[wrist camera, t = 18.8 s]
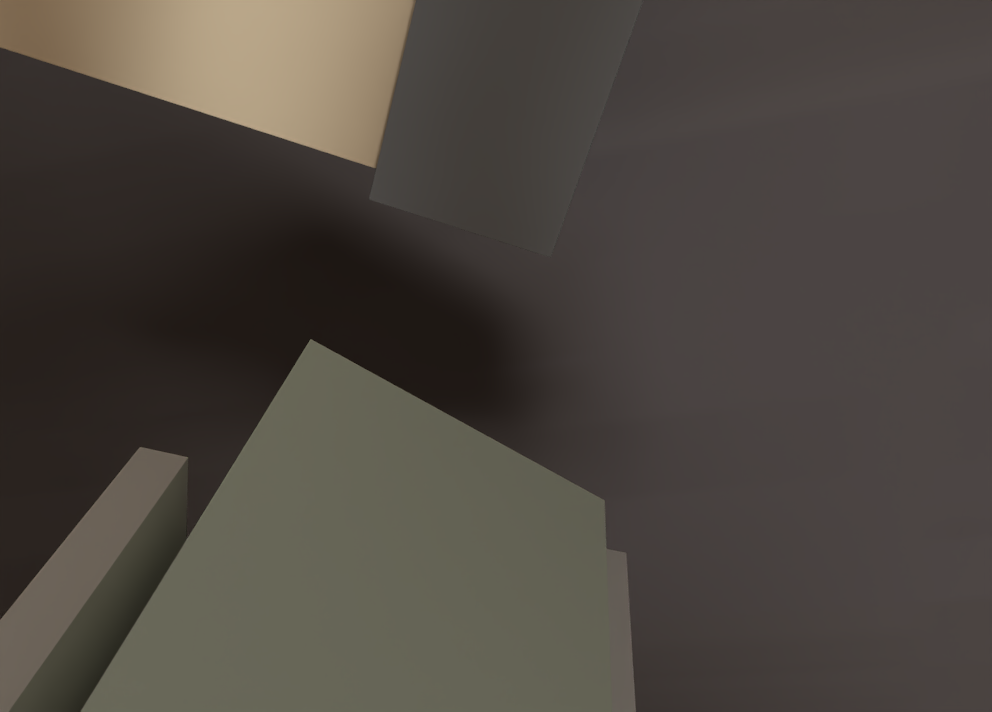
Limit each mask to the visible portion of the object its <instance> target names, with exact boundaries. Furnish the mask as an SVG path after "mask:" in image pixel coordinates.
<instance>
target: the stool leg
mask: <svg viewBox="0 0 992 712" xmlns="http://www.w3.org/2000/svg"><path fill="white" fill-rule="evenodd" d="M642 3H643V0H0V47H1V48H4V49H7V50H11V51H14V52H17V53H20V54H23V55H26V56H29V57H32V58H35V59H38V60H42V61H45V62H48V63H51V64H54V65H57V66H60V67H63V68H66V69H69V70H73V71H76V72H79V73H82V74H85V75H88V76H91V77H94V78H97V79H100V80H103V81H107V82H110V83H113V84H116V85H119V86H122V87H125V88H128V89H131V90H134V91H138V92H141V93H144V94H147V95H150V96H153V97H156V98H159V99H162V100H165V101H169V102H172V103H175V104H178V105H181V106H184V107H187V108H190V109H193V110H196V111H200V112H203V113H206V114H209V115H212V116H215V117H218V118H221V119H224V120H227V121H231V122H234V123H237V124H240V125H243V126H246V127H249V128H252V129H255V130H258V131H262V132H265V133H268V134H271V135H274V136H277V137H280V138H283V139H286V140H289V141H292V142H296V143H299V144H302V145H305V146H308V147H311V148H314V149H317V150H320V151H323V152H327V153H330V154H333V155H336V156H339V157H342V158H345V159H348V160H351V161H354V162H358V163H361V164H364V165H367V166H370V167H373V168H376V171H375V176H374V180H373V184H372V188H371V193H370V197H369V200H372V201H375V202H378V203H381V204H384V205H388V206H391V207H394V208H397V209H400V210H403V211H406V212H409V213H412V214H416V215H419V216H422V217H425V218H428V219H431V220H434V221H437V222H441V223H444V224H447V225H450V226H453V227H456V228H459V229H462V230H466V231H469V232H472V233H475V234H478V235H481V236H484V237H487V238H491V239H494V240H497V241H500V242H503V243H506V244H509V245H512V246H516V247H519V248H522V249H525V250H528V251H531V252H534V253H537V254H540V255H544V256H547V257H550V258H551V256H552V253H553V250H554V247H555V244H556V242H557V239H558V236H559V233H560V231H561V228H562V225H563V222H564V219H565V217H566V214H567V211H568V208H569V206H570V203H571V200H572V197H573V194H574V192H575V189H576V186H577V183H578V181H579V178H580V175H581V172H582V169H583V167H584V164H585V161H586V158H587V156H588V153H589V150H590V147H591V144H592V142H593V139H594V136H595V133H596V131H597V128H598V125H599V122H600V119H601V117H602V114H603V111H604V108H605V106H606V103H607V100H608V97H609V94H610V92H611V89H612V86H613V83H614V81H615V78H616V75H617V72H618V69H619V67H620V64H621V61H622V58H623V56H624V53H625V50H626V47H627V44H628V42H629V39H630V36H631V33H632V31H633V28H634V25H635V22H636V19H637V17H638V14H639V11H640V8H641V6H642Z"/></svg>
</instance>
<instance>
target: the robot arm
mask: <svg viewBox="0 0 992 712" xmlns="http://www.w3.org/2000/svg"><path fill="white" fill-rule="evenodd" d="M187 489H188V457H184V456H180V455H175V454H171V453H166V452H161V451H157V450H152V449H148V448H143V447H139V449H138V450H137V451H136V452H135V454H134V455H133V456H132V457H131V459H130V460H129V461H128V462H127V464H126V465H125V466H124V467H123V469H122V470H121V471H120V472H119V473H118V475H117V476H116V477H115V478H114V480H113V481H112V482H111V483H110V485H109V486H108V487H107V488H106V490H105V491H104V492H103V493H102V495H101V496H100V497H99V498H98V499H97V501H96V502H95V503H94V504H93V506H92V507H91V508H90V509H89V511H88V512H87V513H86V514H85V516H84V517H83V518H82V519H81V521H80V522H79V523H78V524H77V525H76V527H75V528H74V529H73V530H72V532H71V533H70V534H69V535H68V537H67V538H66V539H65V540H64V542H63V543H62V544H61V545H60V547H59V548H58V549H57V550H56V552H55V553H54V554H53V555H52V556H51V558H50V559H49V560H48V561H47V563H46V564H45V565H44V566H43V568H42V569H41V570H40V571H39V573H38V574H37V575H36V576H35V578H34V579H33V580H32V581H31V582H30V584H29V585H28V586H27V587H26V589H25V590H24V591H23V592H22V594H21V595H20V596H19V597H18V599H17V600H16V601H15V602H14V604H13V605H12V606H11V607H10V608H9V610H8V611H7V612H6V613H5V615H4V616H3V617H2V618H1V620H0V712H81V710H82V708H83V707H84V705H85V704H86V702H87V700H88V699H89V697H90V695H91V694H92V692H93V691H94V689H95V687H96V686H97V684H98V683H99V681H100V679H101V678H102V676H103V674H104V673H105V671H106V670H107V668H108V666H109V665H110V663H111V661H112V660H113V658H114V657H115V655H116V653H117V652H118V650H119V648H120V647H121V645H122V644H123V642H124V640H125V639H126V637H127V636H128V634H129V632H130V631H131V629H132V627H133V626H134V624H135V623H136V621H137V619H138V618H139V616H140V614H141V613H142V611H143V610H144V608H145V606H146V605H147V603H148V602H149V600H150V598H151V597H152V595H153V593H154V592H155V590H156V589H157V587H158V585H159V584H160V582H161V580H162V579H163V577H164V576H165V574H166V572H167V571H168V569H169V568H170V566H171V564H172V563H173V561H174V559H175V558H176V556H177V555H178V553H179V551H180V550H181V548H182V546H183V545H184V543H185V542H186V531H187ZM606 552H607V579H608V607H609V635H610V663H611V691H612V712H636V707H635V690H634V673H633V657H632V640H631V624H630V607H629V591H628V574H627V558H626V553H624V552H620V551H615V550H610V549H606Z"/></svg>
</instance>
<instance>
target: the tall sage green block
mask: <svg viewBox="0 0 992 712" xmlns="http://www.w3.org/2000/svg"><path fill="white" fill-rule="evenodd" d="M81 712H612V691H611V663H610V635H609V607H608V579H607V552H606V524H605V500H603V499H601V498H599V497H597V496H595V495H594V494H592V493H590V492H588V491H586V490H585V489H583V488H581V487H579V486H577V485H575V484H574V483H572V482H570V481H568V480H566V479H565V478H563V477H561V476H559V475H557V474H555V473H554V472H552V471H550V470H548V469H546V468H545V467H543V466H541V465H539V464H537V463H535V462H534V461H532V460H530V459H528V458H526V457H524V456H523V455H521V454H519V453H517V452H515V451H514V450H512V449H510V448H508V447H506V446H504V445H503V444H501V443H499V442H497V441H495V440H494V439H492V438H490V437H488V436H486V435H484V434H483V433H481V432H479V431H477V430H475V429H474V428H472V427H470V426H468V425H466V424H464V423H463V422H461V421H459V420H457V419H455V418H453V417H452V416H450V415H448V414H446V413H444V412H443V411H441V410H439V409H437V408H435V407H433V406H432V405H430V404H428V403H426V402H424V401H423V400H421V399H419V398H417V397H415V396H413V395H412V394H410V393H408V392H406V391H404V390H403V389H401V388H399V387H397V386H395V385H393V384H392V383H390V382H388V381H386V380H384V379H383V378H381V377H379V376H377V375H375V374H373V373H372V372H370V371H368V370H366V369H364V368H362V367H361V366H359V365H357V364H355V363H353V362H352V361H350V360H348V359H346V358H344V357H342V356H341V355H339V354H337V353H335V352H333V351H332V350H330V349H328V348H326V347H324V346H322V345H321V344H319V343H317V342H315V341H313V340H312V339H310V341H309V342H308V344H307V346H306V347H305V349H304V350H303V352H302V354H301V355H300V357H299V359H298V360H297V362H296V363H295V365H294V367H293V368H292V370H291V372H290V373H289V375H288V376H287V378H286V380H285V381H284V383H283V385H282V386H281V388H280V389H279V391H278V393H277V394H276V396H275V397H274V399H273V401H272V402H271V404H270V406H269V407H268V409H267V410H266V412H265V414H264V415H263V417H262V419H261V420H260V422H259V423H258V425H257V427H256V428H255V430H254V431H253V433H252V435H251V436H250V438H249V440H248V441H247V443H246V444H245V446H244V448H243V449H242V451H241V453H240V454H239V456H238V457H237V459H236V461H235V462H234V464H233V465H232V467H231V469H230V470H229V472H228V474H227V475H226V477H225V478H224V480H223V482H222V483H221V485H220V487H219V488H218V490H217V491H216V493H215V495H214V496H213V498H212V499H211V501H210V503H209V504H208V506H207V508H206V509H205V511H204V512H203V514H202V516H201V517H200V519H199V521H198V522H197V524H196V525H195V527H194V529H193V530H192V532H191V534H190V535H189V537H188V538H187V540H186V542H185V543H184V545H183V546H182V548H181V550H180V551H179V553H178V555H177V556H176V558H175V559H174V561H173V563H172V564H171V566H170V568H169V569H168V571H167V572H166V574H165V576H164V577H163V579H162V580H161V582H160V584H159V585H158V587H157V589H156V590H155V592H154V593H153V595H152V597H151V598H150V600H149V602H148V603H147V605H146V606H145V608H144V610H143V611H142V613H141V614H140V616H139V618H138V619H137V621H136V623H135V624H134V626H133V627H132V629H131V631H130V632H129V634H128V636H127V637H126V639H125V640H124V642H123V644H122V645H121V647H120V648H119V650H118V652H117V653H116V655H115V657H114V658H113V660H112V661H111V663H110V665H109V666H108V668H107V670H106V671H105V673H104V674H103V676H102V678H101V679H100V681H99V683H98V684H97V686H96V687H95V689H94V691H93V692H92V694H91V695H90V697H89V699H88V700H87V702H86V704H85V705H84V707H83V708H82V710H81Z"/></svg>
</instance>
